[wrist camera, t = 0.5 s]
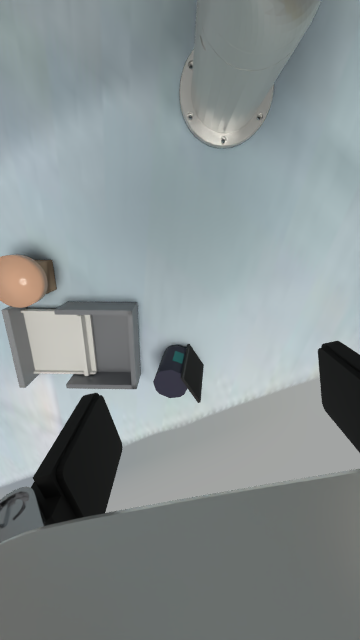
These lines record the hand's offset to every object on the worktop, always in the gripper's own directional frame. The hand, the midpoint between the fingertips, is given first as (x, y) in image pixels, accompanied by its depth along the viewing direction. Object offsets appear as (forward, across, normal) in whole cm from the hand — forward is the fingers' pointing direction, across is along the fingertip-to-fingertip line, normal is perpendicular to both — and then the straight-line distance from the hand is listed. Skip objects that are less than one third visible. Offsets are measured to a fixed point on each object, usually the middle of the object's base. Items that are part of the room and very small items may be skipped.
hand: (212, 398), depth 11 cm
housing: (+34, +18, +8) cm, 40 cm away
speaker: (+34, +6, +15) cm, 38 cm away
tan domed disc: (+29, +25, -6) cm, 39 cm away
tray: (+34, +25, +6) cm, 43 cm away
